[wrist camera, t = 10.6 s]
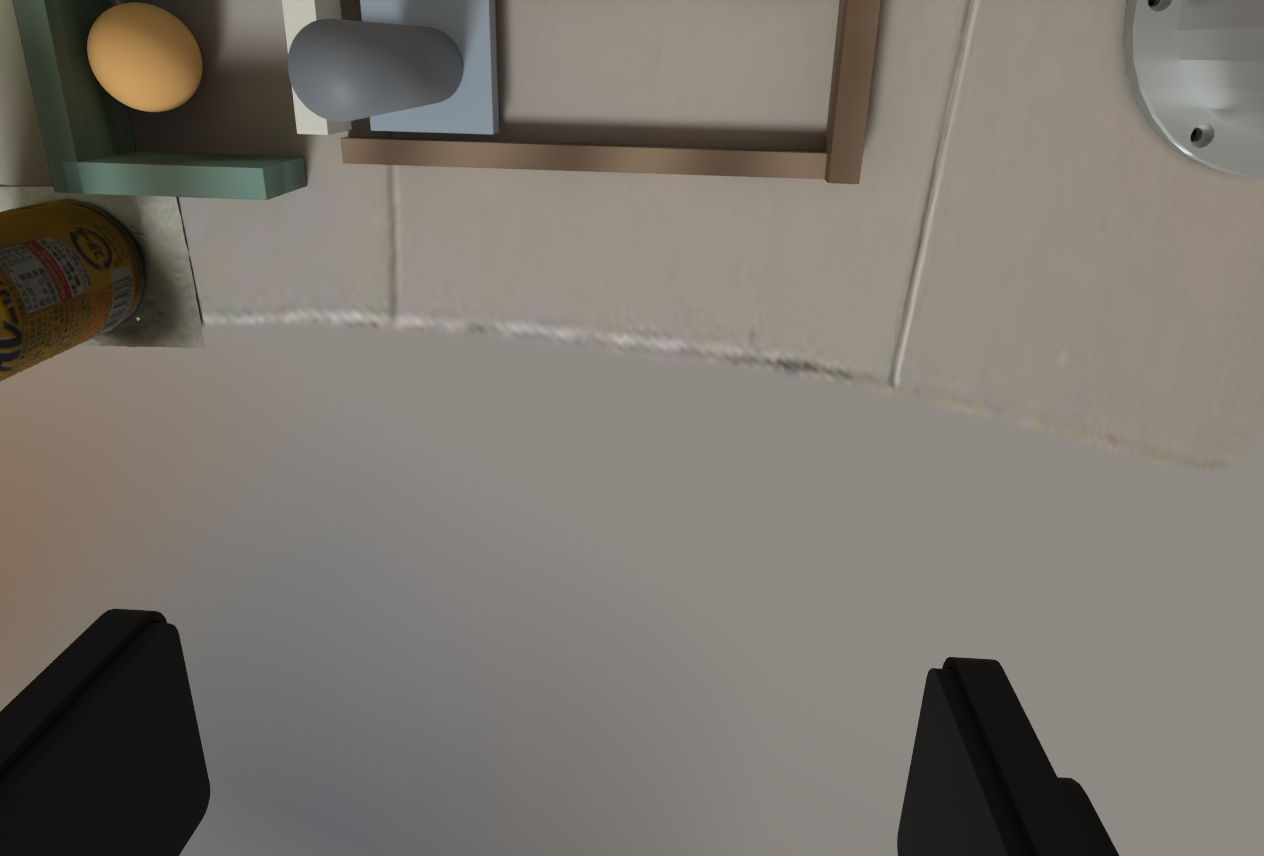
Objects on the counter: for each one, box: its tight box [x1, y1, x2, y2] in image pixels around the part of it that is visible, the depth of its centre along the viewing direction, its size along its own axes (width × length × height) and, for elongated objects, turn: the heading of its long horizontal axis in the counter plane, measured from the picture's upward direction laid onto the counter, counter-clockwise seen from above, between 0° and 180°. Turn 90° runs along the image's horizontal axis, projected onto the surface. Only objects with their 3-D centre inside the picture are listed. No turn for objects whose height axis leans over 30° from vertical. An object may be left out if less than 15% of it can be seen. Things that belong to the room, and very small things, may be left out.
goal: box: [13, 0, 307, 200], centre depth 35 cm, size 9×10×4 cm
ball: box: [87, 2, 203, 112], centre depth 36 cm, size 4×4×4 cm
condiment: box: [0, 187, 204, 381], centre depth 36 cm, size 7×8×12 cm
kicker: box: [282, 0, 499, 135], centre depth 31 cm, size 7×5×11 cm
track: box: [341, 0, 881, 184], centre depth 36 cm, size 21×8×2 cm, turn 89°
